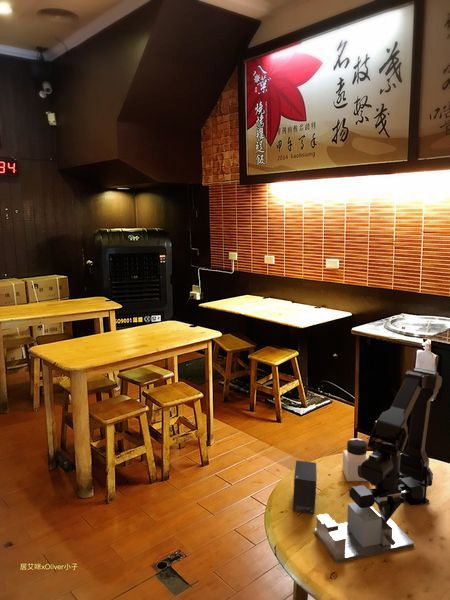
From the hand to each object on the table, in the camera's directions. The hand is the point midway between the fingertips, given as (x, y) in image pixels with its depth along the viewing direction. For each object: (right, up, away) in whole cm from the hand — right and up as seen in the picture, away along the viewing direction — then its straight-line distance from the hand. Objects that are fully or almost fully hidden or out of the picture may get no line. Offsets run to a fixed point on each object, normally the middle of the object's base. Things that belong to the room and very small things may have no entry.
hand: (384, 521), depth 125 cm
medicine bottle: (0, +1, +29) cm, 30 cm away
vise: (-6, -4, -1) cm, 7 cm away
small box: (-19, -2, +15) cm, 24 cm away
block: (-6, -3, -1) cm, 7 cm away
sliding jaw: (-2, -3, 0) cm, 4 cm away
